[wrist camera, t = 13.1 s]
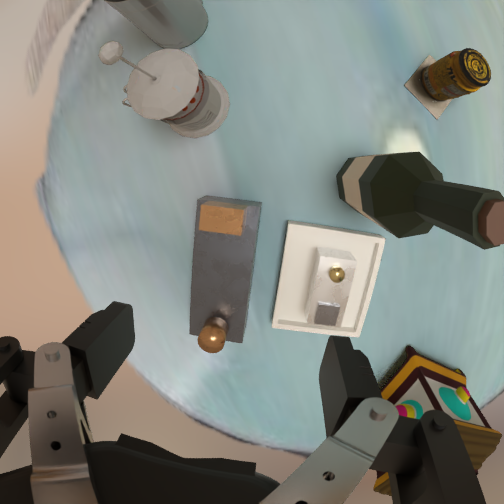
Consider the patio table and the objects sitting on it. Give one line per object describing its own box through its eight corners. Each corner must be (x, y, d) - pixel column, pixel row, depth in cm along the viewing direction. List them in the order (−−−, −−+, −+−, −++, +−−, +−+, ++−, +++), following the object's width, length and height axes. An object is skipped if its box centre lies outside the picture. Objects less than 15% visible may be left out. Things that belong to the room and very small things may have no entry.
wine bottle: (382, 218, 42) (517, 305, 13) (329, 204, 42) (421, 282, 13) (395, 163, 39) (551, 176, 11) (342, 147, 40) (460, 119, 11)
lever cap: (316, 246, 43) (321, 258, 37) (350, 251, 42) (359, 263, 37) (304, 309, 46) (306, 327, 40) (335, 313, 45) (341, 331, 40)
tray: (288, 220, 43) (288, 223, 41) (380, 234, 42) (385, 238, 40) (272, 319, 48) (271, 327, 45) (355, 329, 47) (359, 337, 44)
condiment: (460, 87, 34) (502, 73, 23) (436, 119, 37) (479, 110, 25) (428, 54, 33) (465, 30, 22) (403, 85, 36) (439, 64, 24)
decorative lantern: (467, 365, 47) (534, 465, 19) (409, 428, 53) (444, 533, 24) (406, 334, 47) (481, 467, 18) (343, 410, 52) (364, 542, 23)
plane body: (206, 195, 43) (188, 203, 34) (261, 202, 43) (257, 211, 34) (197, 318, 49) (182, 348, 40) (245, 326, 48) (238, 358, 40)
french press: (228, 137, 41) (163, 103, 17) (152, 140, 41) (34, 127, 18) (230, 73, 38) (176, -18, 14) (155, 79, 39) (50, 21, 15)
